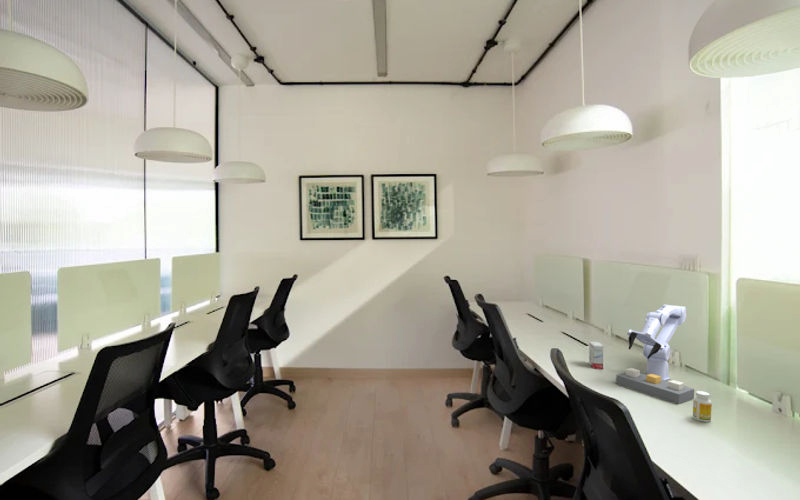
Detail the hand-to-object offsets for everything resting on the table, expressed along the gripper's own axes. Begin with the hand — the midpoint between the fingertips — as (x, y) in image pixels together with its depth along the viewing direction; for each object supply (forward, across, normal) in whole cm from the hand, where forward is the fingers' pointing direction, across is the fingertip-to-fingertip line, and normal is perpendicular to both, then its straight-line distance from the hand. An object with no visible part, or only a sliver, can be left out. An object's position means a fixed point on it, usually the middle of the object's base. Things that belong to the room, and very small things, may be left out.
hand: (639, 352), depth 178 cm
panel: (+6, +11, +11) cm, 17 cm away
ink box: (-6, -13, +32) cm, 35 cm away
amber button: (+5, +10, +9) cm, 14 cm away
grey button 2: (+6, +17, +4) cm, 19 cm away
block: (+3, +2, +14) cm, 14 cm away
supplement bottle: (+21, +26, -6) cm, 34 cm away
